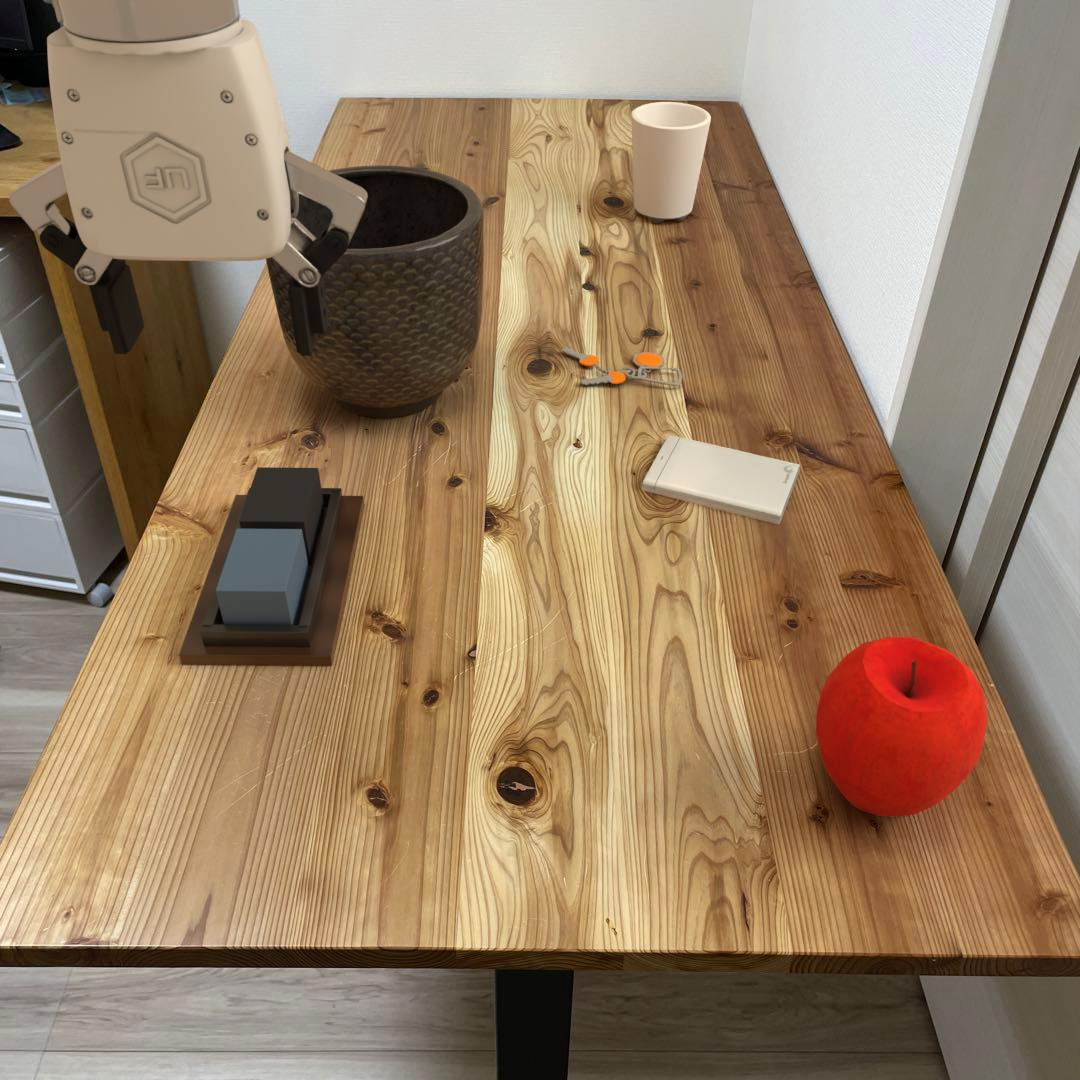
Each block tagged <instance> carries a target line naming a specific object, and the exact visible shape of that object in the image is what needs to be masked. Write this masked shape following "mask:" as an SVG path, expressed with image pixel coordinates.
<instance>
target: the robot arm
mask: <svg viewBox="0 0 1080 1080" xmlns="http://www.w3.org/2000/svg"><path fill="white" fill-rule="evenodd" d="M42 1H43V2H44V3H46V4H51V5H52V8H53V10H54V13H55V17H56V20H57V23H61V24H62V25H63V26H61V27H59V28H58V29H57V30H54V31H53V32H52V33H50V34H48V36H46V37H47V38H46V46H47V49H46V50H47V68H48V80H49V87H50V97H51V104H52V112H53V113H52V114H53V121H54V126H55V134H56V140H57V146H58V153H59V157H60V160H59V161H57V162H55V163H54V164H52V165H50V166H48V167H47V168H45V169H43V170H42V171H40V172H38V173H37V174H35V175H33V176H31V177H30V178H28V179H27V180H25V181H23V182H21V183H20V184H19V185H18V186H17V187H16V188H15V189H14V190H13V191H12V192H11V193H10V194H9V198H8V201H9V204H10V205H11V207H12V208H13V210H14V211H15V212H16V213H17V214H18V215H19V217H20V218H21V219H22V220H23V222H25V224H26V225H27V226H28V227H29V228H30V229H31V231H32V232H35V233H36V234H37V236H39V242H40V245H42V247H43V248H44V249H45V250H46V251H48V252H49V253H51V254H52V255H53V256H55V257H56V258H58V259H59V260H60V261H62V262H63V263H65V264H66V265H67V266H68V267H70V268H71V269H72V270H73V271H74V276H75V278H76V279H77V280H78V281H79V282H80V283H81V284H83V285H86V286H88V287H89V290H90V291H89V292H90V294H91V298H92V301H93V305H94V308H95V312H96V315H97V319H98V323H99V325H100V329H101V330H102V331H103V332H104V333H105V332H106V333H107V332H108V335H109V339H110V342H111V345H112V350H113V352H114V354H115V355H127V354H128V353H130V352H132V350H133V348H134V346H135V344H136V343H137V341H138V339H139V337H140V335H141V334H142V333H143V330H144V329H145V322H144V318H143V314H142V310H141V306H140V302H139V299H138V294H137V290H136V286H135V282H134V279H133V274H132V271H131V267H130V265H129V264H127V262H126V261H167V262H169V261H172V262H173V261H174V262H175V261H176V262H177V261H178V262H181V261H183V262H250V261H251V262H253V261H262V260H266V259H267V258H270V257H272V258H273V259H274V260H275V261H276V262H278V263H279V264H280V265H281V266H282V267H283V268H284V269H285V270H286V271H287V272H288V273H289V274H290V275H291V276H292V277H293V278H292V280H291V283H290V285H289V288H288V297H289V304H290V310H291V317H292V323H293V330H294V336H295V343H296V349H297V353H300V354H301V356H312V353H313V350H314V347H315V344H316V340H317V337H318V334H326V331H327V328H328V312H327V304H326V297H325V289H324V281H323V275H324V274H325V273H326V272H327V271H328V270H329V268H330V267H331V266H332V265H333V264H334V263H335V262H336V261H337V260H338V259H339V258H340V257H341V256H342V255H343V254H344V253H345V252H346V250H347V248H348V245H349V243H350V241H351V239H352V236H353V234H354V232H355V230H356V228H357V225H358V223H359V221H360V219H361V216H362V214H363V212H364V209H365V206H366V203H367V199H368V195H367V192H366V190H365V189H363V188H362V187H360V186H358V185H356V184H354V183H352V182H350V181H348V180H346V179H344V178H342V177H340V176H338V175H336V174H334V173H332V172H330V171H329V170H328V169H325V168H324V167H322V166H319V165H318V164H315V163H313V162H311V161H310V160H308V159H305V158H303V157H302V156H300V155H297V154H295V153H293V152H292V148H291V143H290V140H289V136H288V135H289V134H288V131H287V126H286V122H285V118H284V113H283V110H282V106H281V102H280V98H279V94H278V91H277V87H276V83H275V80H274V76H273V72H272V70H271V67H270V63H269V60H268V57H267V54H266V51H265V48H264V45H263V41H262V40H261V36H260V34H259V32H258V29H257V26H256V24H255V23H254V22H253V21H252V20H250V19H242V17H241V9H240V4H239V0H42ZM298 193H299V194H301V195H303V196H305V197H308V198H310V199H312V200H314V201H316V202H318V203H320V204H322V205H324V206H326V207H328V208H329V209H330V210H331V211H332V214H333V218H332V221H331V223H330V224H329V225H328V226H327V227H326V228H325V229H324V231H323V232H322V233H321V234H320V235H319V236H318V237H317V238H316V237H315V236H314V235H313V234H312V233H310V232H309V231H308V230H307V229H306V228H305V227H304V226H303V225H302V224H301V223H300V222H299V221H298V220H297V219H296V217H297V215H298V211H299V197H298ZM65 195H67V196H68V202H69V205H70V210H71V214H72V218H73V220H74V222H73V221H71V219H69V218H67V217H65V216H63V215H62V214H61V210H60V209H59V208H58V207H57V205H56V204H55V201H56V200H58V199H60V198H61V197H62V196H65Z"/></svg>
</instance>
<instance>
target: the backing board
mask: <svg viewBox="0 0 1080 1080" xmlns="http://www.w3.org/2000/svg"><path fill="white" fill-rule="evenodd" d="M250 488H251V486H249V487H248V490H247V492H246V494H235V495H234V499H233V501H232V504H231V507H230V510H229V512H228V516H227V519H226V521H225V523H224V528H223V530H222V532H221V535H220V538H219V541H218V543H217V546H216V549H215V552H214V555H213V558H212V560H211V563H210V566H209V569H208V571H207V574H206V577H205V580H204V583H203V586H202V589H201V591H200V594H199V597H198V599H197V603H196V605H195V609H194V611H193V614H192V617H191V620H190V622H189V625H188V628H187V631H186V633H185V637H184V640H183V642H182V645H181V648H180V650H179V651H180V652H179V654H178V656H179V661H180V664H181V665H198V666H199V665H200V666H201V665H205V666H206V665H208V666H210V665H211V666H212V665H213V666H215V665H216V666H217V665H219V666H220V665H221V666H227V665H228V666H332V665H333V663H334V659H335V653H336V648H337V643H338V640H339V639H338V638H339V634H340V628H341V623H342V618H343V613H344V608H345V604H346V599H347V594H348V588H349V584H350V579H351V574H352V569H353V564H354V559H355V554H356V549H357V544H358V543H357V542H358V539H359V533H360V530H361V525H362V520H363V519H362V518H363V514H364V510H365V505H366V503H365V498H364V495H343V489H342V488H341V487H321V489H322V496H323V502H324V509H325V511H324V515H323V519H322V523H321V527H320V532H319V536H318V540H317V544H316V548H315V552H314V556H313V560H312V564H311V565H308V567H309V576H308V580H307V585H306V589H305V593H304V597H303V601H302V605H301V609H300V613H299V617H298V621H297V625H224V623H223V619H222V615H221V611H220V607H219V603H218V599H217V595H216V588H217V585H218V582H219V579H220V576H221V573H222V570H223V567H224V564H225V561H226V558H227V555H228V553H229V550H230V547H231V544H232V541H233V538H234V535H235V532H236V529H241V527H240V523H239V520H240V517H241V514H242V511H243V508H244V505H245V502H246V499H247V497H248V494H249V491H250Z"/></svg>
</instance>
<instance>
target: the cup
mask: <svg viewBox="0 0 1080 1080" xmlns="http://www.w3.org/2000/svg"><path fill="white" fill-rule="evenodd" d="M630 115H631V116H630V117H631V118H630V119H631V120H630V121H631V150H632V151H631V153H632V187H633V188H632V189H633V208H634V212H635V215H636V216H638V217H642V218H643V217H646V218H648V219H649V220H650V221H651V222H652V223H653V224H662V223H664V222H665V221H667V220H672V221H674V222H677V223H681V222H684V221H685V220H686V219H687V217H688V216H689V215H690V214H691V212H692V211H693V208H694V204H695V199H696V194H697V189H698V184H699V180H700V174H701V170H702V164H703V160H704V155H705V150H706V146H707V140H708V135H709V131H710V126H711V122H712V116H711V114H710V113H709V112H708V111H707V110H705V109H704V108H702V107H700V106H698V105H694V104H689V103H684V102H676V101H675V102H673V101H658V102H657V101H656V102H655V101H654V102H649V103H645V104H642V105H640V106H637V107H636V108H634V109H633V110H632V111H631V114H630Z"/></svg>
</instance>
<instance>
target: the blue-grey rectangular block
mask: <svg viewBox="0 0 1080 1080" xmlns="http://www.w3.org/2000/svg"><path fill="white" fill-rule="evenodd" d="M308 576H309V567H308V561H307V556H306V550H305V544H304V538H303V532H302V529H236V532H235V535H234V538H233V541H232V544H231V547H230V550H229V553H228V555H227V558H226V561H225V564H224V567H223V570H222V573H221V576H220V579H219V582H218V585H217V588H216V595H217V599H218V603H219V607H220V611H221V615H222V619H223V623H224V625H297V621H298V617H299V613H300V609H301V605H302V601H303V597H304V593H305V589H306V585H307V580H308Z"/></svg>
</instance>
